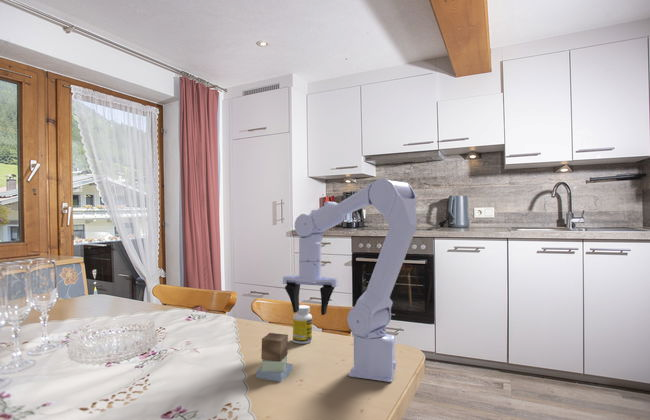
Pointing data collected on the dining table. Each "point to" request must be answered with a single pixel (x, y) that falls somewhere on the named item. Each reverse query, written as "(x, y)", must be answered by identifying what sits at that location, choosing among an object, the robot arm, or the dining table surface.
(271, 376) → the slate slab
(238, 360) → the dining table surface
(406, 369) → the dining table surface
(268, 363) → the sage block
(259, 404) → the dining table surface
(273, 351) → the walnut cube
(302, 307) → the supplement bottle
